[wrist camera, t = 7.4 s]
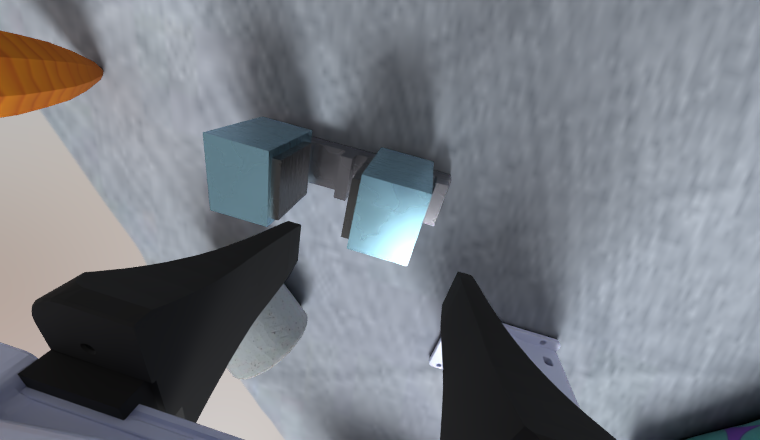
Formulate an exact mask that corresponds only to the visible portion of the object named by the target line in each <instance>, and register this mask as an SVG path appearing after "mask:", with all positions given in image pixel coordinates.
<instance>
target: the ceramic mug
mask: <svg viewBox="0 0 760 440" xmlns="http://www.w3.org/2000/svg"><path fill="white" fill-rule="evenodd" d="M306 325H307V314H306V313H305V311H304V310H303V308H302V307H301V306H300V305H299V303H298V302H297V301H296V299H295V298H294V296H293V295H292V294H291V292H290V291H289V290H288V289H287V287H286V286H285V285H284V284H283V285H282V286H281V287H280V289H279V290H278V291H277V293H276V294H275V295H274V297H273V298H272V299H271V301H270V302H269V303H268V304H267V306H266V307H265V308H264V310H263V311H262V312H261V313H260V315H259V316H258V317H257V319H256V320H255V322H254V323H253V324H252V326H251V327H250V329H249V331H248V332H247V334H246V336H245V337H244V339H243V340H242V342H241V344H240V345H239V347H238V349H237V350H236V352H235V354H234V355H233V357H232V359H231V360H230V362H229V364H228V365H227V367H226V368H227V369H228V370H229V372H230V373H231V374H232V375H233V376H234V377H235V378H237V379H249V378H252V377H255V376H257V375H260V374H262V373H263V372H265V371H267V370H269V369H271V368H272V367H273V366H275V365H276V364H277V363H278V362H279V361H281V360H282V359H283V358H284V357H285V356H286V355H287V354H288V353H289V352H290V351H291V350H292V349H293V347H294V346H295V345H296V344H297V342H298V341H299V339H300V338H301V336H302V335H303V333H304V331H305V328H306Z"/></svg>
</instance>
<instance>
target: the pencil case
mask: <svg viewBox="0 0 760 440" xmlns="http://www.w3.org/2000/svg"><path fill="white" fill-rule="evenodd" d="M685 440H760V419H759V420H756V421H754V422H751V423H747V424H744V425H740V426H735V427H730V428H727V429H723V430H719V431H715V432H711V433H707V434H703V435H699V436H695V437H692V438H689V439H685Z"/></svg>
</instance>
